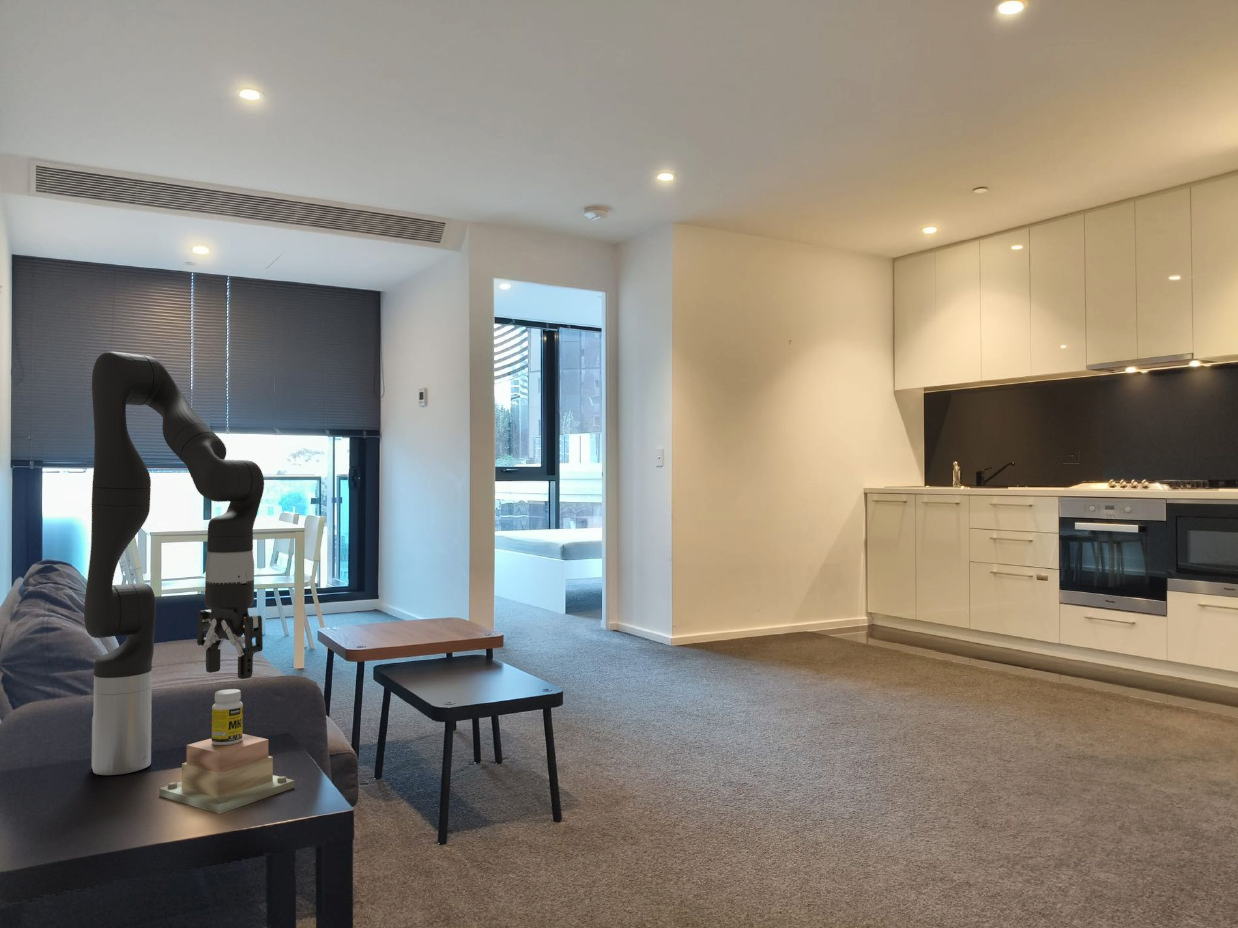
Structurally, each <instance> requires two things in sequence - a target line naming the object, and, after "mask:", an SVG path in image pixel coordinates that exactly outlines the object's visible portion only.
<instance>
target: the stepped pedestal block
mask: <svg viewBox="0 0 1238 928" xmlns="http://www.w3.org/2000/svg"><path fill="white" fill-rule="evenodd" d="M273 762H274V757H273V756H271V755H269V739H268V738H264V737H259V736H254V735H251V734H250V735H249V734H247V733H246V734H245V733H242V740H241V741H240V742H238V743H236V744H232V745H214V744H212V737H211V738H207V739H205V740H204V739H203V740H200V741H196V742H193V743H189V744H186V761H185V762H182V763H181V781H179V782H176V781H175V782H169V783H168V784H167V786H162V787H160V788H159V791H158V792H159V794H158V796H159V797H162V798H165V799H167V800H168V799H169V800H171V801H175V802H178V803H181V804H186V805H189V806H192V807H195V808H197V809H201V810H204V811H205V810H206V811H208V812H211V813H214V814H218V815H221V814H223V813H225V812H228V811H231V810H234V809H237V808H241V807H242V806H246V805H249V804H251V803H252V804H253V803H254V802H257V801H260V800H263V799H265V798H269V797H272V796H274V795H277V794H280V793H283V792H285V791H289V790H291V789H294V788H295V780H294V779H290V778H287V776H278V775H274V774H273V773H274V770H273V769H274V763H273Z"/></svg>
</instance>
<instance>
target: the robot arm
mask: <svg viewBox="0 0 1238 928" xmlns="http://www.w3.org/2000/svg"><path fill="white" fill-rule="evenodd" d="M92 368H93V369H92V373H91V397H92V411H93V412H92V413H93V414H92V415H93V428H94V429H93V430H94V446H93V447H94V449H93V450H94V451H93V452H94V453H93V455H94V456H93V472H92V473H93V474H92V485H91V486H92V489H91V536H90V537H91V539H90V541H91V542H90V553H89V554H90V555H89V556H90V557H89V564H88V571H87V572H88V573H87V581H86V588H85V595H84V596H85V597H84V598H85V599H84V606H83V616H84V617H83V619H84V626H85V629H86V632H87V634H88V635H89V636H90V637H91V638H95V639H100V638H101V639H102V638H112V637H121V636H126V639H125V640H124V642H123V643H121V644H120V645H119V646H118V647H116V648H115V649H113V650H111V651H109V652H107V653H105V654H103V655H100V656H99V657H97V658H96V659H95V660H94V663H93V715H92V717H91V722H92V723H91V768H92V773H94V774H95V775H100V776H116V775H124V774H125V775H126V774H130V773H133V772H137V771H141V770H143V769H145V768H148V767H150V765H151V763H152V690H153V689H152V679H153V678H152V673H153V672H152V670H153V669H152V668H153V667H152V665H153V657H154V650H155V649H154V646H155V628H156V616H157V615H156V614H157V613H156V612H157V603H156V600H157V599H156V596H155V592H154V590H153V588H152V586H150V585H149V584H148V583H142V582H139V583H137V582H136V583H124V584H113V583H114V576H115V573H116V568H117V566H118V564H119V561H120V559H121V558H122V556H123V554H124V552H125V551H126V549H127V547H128V546H129V545H130V544H131V542H132V541H133V539H134V538H136V535H137V534H138V533H139V531H140V530H141V528H142V527H143V526H144V524H145V523H146V522H147V519H148V516H149V514H150V508H151V491H152V490H151V487H152V480H151V475H150V472H149V470H148V467H147V465H146V464H145V462H144V459H143V458H142V457H141V455H140V453H139V451H138V450H137V448H136V446H135V444H134V443H133V441H132V439H131V436H130V434H129V433H130V432H129V430H128V426H127V425H128V424H127V413H126V412H127V411H126V409H127V405H130V406H148V407H150V408H151V409H152V410H154V411H156V412H157V413H158V414H159V415H160V416H161V417H162V424H161V425H162V430H161V431H162V435H163V438H164V441H165V443H166V445H167V446H168V447H169V449H170V450H171V451H172V452H173V454H175V455H176V456H177V457H178V459H179V460H180V461H181V462H182V463H183V464H185V466H186V467H187V470H188V473H189V474H190V477H191V479H192V482H193V484H194V487H195V488H196V490H197V492H198V493H199V494H200V495H201V496H202V497H204V498H205V499H207V500H209V501H211V502H219V503H220V502H221V503H222V502H229V504H228V507H227V509H226V512H225V513H223V514H222V515H221V514H220V515H218V516H215V517H213V518H211V519H210V520H209V522H208V526H207V544H206V545H207V550H206V551H207V554H206V561H205V575H204V576H205V583H204V585H205V586H204V590H205V593H204V606H205V607H206V608H207V609H204V610H199V611H198V614H197V631H196V632H197V635H196V644H197V645H198V646H202V648H203V650H204V651H205V670H206V673H210V674H211V673H218V672H219V671H220V670H221V649H220V648H221V645H222V644H223V642H224V640H227V641H229V643H230V644H231V645H232V646H234V647H235V649H236V652H237V654H238V656H237V678H238V679H241V680H244V679H250V678H251V677H252V675H253V671H254V666H253V664H254V658H253V657H254V654H256V653H258V652H259V653H260V652H263V649H264V646H263V645H264V643H263V619H262V616H261V614H257V615H250V614H249V608H250V607H251V606H253V605H254V602H255V561H254V551H253V550H254V529H253V528H254V526H255V522H256V518H257V515H258V512H259V508H260V504H261V501H262V497H263V494H264V490H265V478H264V477H265V476H264V475H263V474H264V473H263V471H262V469H261V467H260V466H259V465H258V464H257V463H255V462H254V461H252V460H246V459H226V456H227V447H226V444H225V443H224V441H223V440H221V438H220V437H219V436H218V435H217V434H216V433H215V432H214V430H212V429H211V428H210V427H209V426H208V425H207V424H206V423H205V422H204V421H203V420H202V419H201V418H200V417H199V416H198V415H197V413H196V412H195V411H194V409H193V408H192V407H191V405H190V403H189V402H188V400H187V399H186V397H185V395H184V394H183V393H182V391H181V390H180V388H179V387H178V384H177V383H176V382H175V380H174V379H173V377H172V375H171V374H170V373H169V371H168V370H167V368H166V367H165V365H163V363H161V361H160V360H158V359H157V358H155V357H153V356H150V355H143V354H136V353H129V352H128V353H127V352H119V351H106V352H105V351H104V352H103V353H101V354H99V356H98V357H97V358H96V360H95V362H94V365H93V367H92ZM205 632H206V634H205ZM243 635H244V636H243ZM253 639H255V644H254V643H253ZM243 644H244V645H243ZM244 646H245V647H244Z"/></svg>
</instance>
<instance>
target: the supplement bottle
mask: <svg viewBox="0 0 1238 928" xmlns="http://www.w3.org/2000/svg"><path fill="white" fill-rule="evenodd" d="M241 698H242V693H241V690H240V689H237V688H230V689H229V688H227V689H220V690H217V691H215V693H214V702H215V703H214V704H212V707H211V738H212V744H214V745H232V744H236V743H238V742H240V741H241V740H242V734H243V729H244V728H243V727H244V726H243V721H244V719H243V718H244V714H243V713H244V712H243V711H244V703H243V702H242V701H241V700H242V699H241Z"/></svg>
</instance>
